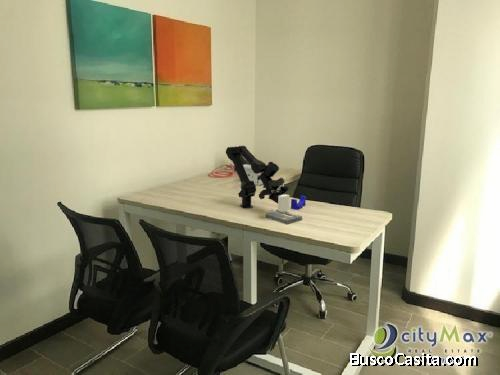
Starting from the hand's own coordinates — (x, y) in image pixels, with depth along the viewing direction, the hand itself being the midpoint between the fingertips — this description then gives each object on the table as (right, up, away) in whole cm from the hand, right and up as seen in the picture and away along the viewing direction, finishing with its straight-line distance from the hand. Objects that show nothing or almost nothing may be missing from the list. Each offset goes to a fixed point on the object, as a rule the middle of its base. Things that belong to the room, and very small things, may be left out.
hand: (281, 204), depth 220 cm
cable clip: (+13, -3, +23) cm, 27 cm away
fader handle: (+1, -5, 0) cm, 5 cm away
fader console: (+1, -8, 0) cm, 8 cm away
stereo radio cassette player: (-15, +13, +88) cm, 90 cm away
